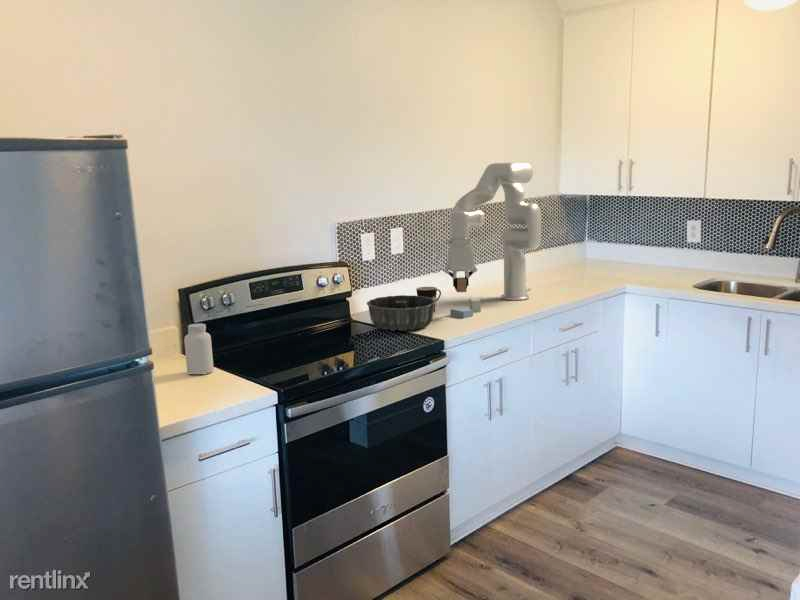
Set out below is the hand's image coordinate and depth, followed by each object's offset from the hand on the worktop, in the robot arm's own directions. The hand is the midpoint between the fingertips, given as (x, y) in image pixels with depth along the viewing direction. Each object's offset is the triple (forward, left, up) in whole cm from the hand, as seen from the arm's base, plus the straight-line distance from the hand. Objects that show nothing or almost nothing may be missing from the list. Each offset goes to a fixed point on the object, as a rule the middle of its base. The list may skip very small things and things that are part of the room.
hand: (460, 287), depth 292 cm
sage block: (-11, -2, -12) cm, 16 cm away
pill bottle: (+111, -12, -12) cm, 112 cm away
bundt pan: (+28, -6, -12) cm, 31 cm away
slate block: (0, 0, -12) cm, 12 cm away
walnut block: (0, 0, -1) cm, 1 cm away
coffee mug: (+1, -16, -12) cm, 20 cm away
